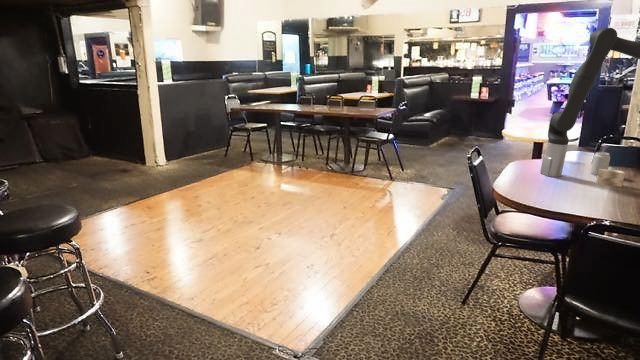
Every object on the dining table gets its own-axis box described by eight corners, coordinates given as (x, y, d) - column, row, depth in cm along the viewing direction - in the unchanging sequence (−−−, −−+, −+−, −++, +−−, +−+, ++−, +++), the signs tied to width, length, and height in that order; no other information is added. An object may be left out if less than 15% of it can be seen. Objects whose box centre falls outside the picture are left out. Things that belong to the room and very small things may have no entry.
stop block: (598, 184, 208) (601, 170, 206) (596, 182, 212) (599, 168, 210) (621, 186, 205) (625, 173, 203) (618, 184, 209) (622, 171, 207)
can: (609, 176, 222) (614, 154, 218) (595, 176, 222) (600, 154, 218) (600, 172, 229) (605, 151, 225) (586, 172, 229) (591, 151, 226)
